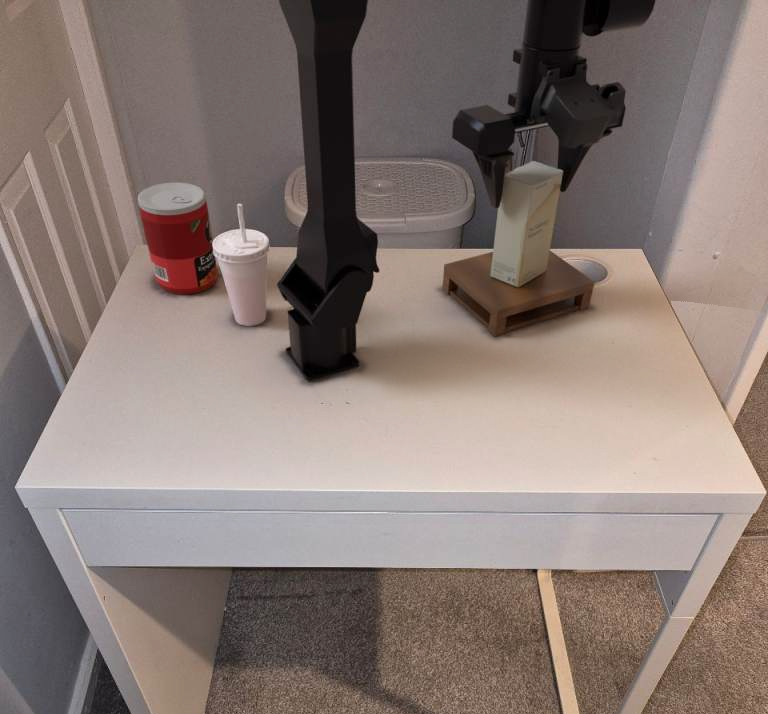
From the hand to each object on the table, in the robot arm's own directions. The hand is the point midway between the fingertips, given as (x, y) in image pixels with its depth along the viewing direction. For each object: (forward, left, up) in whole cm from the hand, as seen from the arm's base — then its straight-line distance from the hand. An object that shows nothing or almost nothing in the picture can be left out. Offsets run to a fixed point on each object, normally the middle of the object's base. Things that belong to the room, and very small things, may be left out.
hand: (528, 198), depth 87 cm
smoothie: (-31, +11, -13) cm, 35 cm away
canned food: (-35, +23, -13) cm, 44 cm away
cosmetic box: (0, 0, -9) cm, 9 cm away
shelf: (0, 0, -13) cm, 13 cm away
